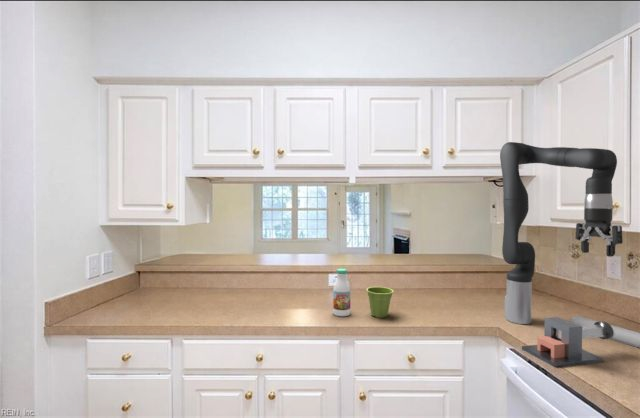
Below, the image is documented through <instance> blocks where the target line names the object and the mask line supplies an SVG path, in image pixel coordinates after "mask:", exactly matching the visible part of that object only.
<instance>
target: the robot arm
mask: <svg viewBox="0 0 640 418" xmlns="http://www.w3.org/2000/svg"><path fill="white" fill-rule="evenodd" d="M499 158H500V159H499V160H500V168H501V174H502V190H503V191H502V193H503V195H502V196H503V197H502V198H503V199H502V202H503V235H502V236H503V237H502V246H501V248H502V251H501V254H502V258H503V260H504V262H505V263H507V264H509V265H515V267H514V268H512V269H511V270H509V271H507V272H506V295H504V318H505V319H506V320H507V321H508V322H511V323H514V324H519V325H530V324H532V308H533V307H532V305H533V304H532V301H533V300H532V299H533V298H532V296H533V295H532V294H533V293H532V292H533V290H532V289H533V283H532V282H533V276H534V274H535V264H536V250H535V248H534V246H533V244H531V243H530V242H528V241H519V232H520V228H521V226H522V225H523V223H524V221H525V219H527V218H526V217H527V215H528V213H529V194H528V191H527V188H526V187H525V184H524V183H523V181H522V178H521V176H520V167H519V166H520V165H528V164H544V165H550V166H555V167H556V166H557V167H565V168H579V169H589V170H592V173H591V176H590V177H588V178H587V179H586V180H585V194H584V195H585V197H584V200H583V201H584V208H583V209H584V211H583V217H584V218H583V219H584V221H585V223H584V222H578V223H576V224H575V225H576V226H575V238H574V239H575V240H578V241H580V250H581V252H582V253H583V254H584V253H586V254H587V253H589V252H590V242H589V241H590V240H591V239H592V238H595V237H597V238H601V239H602V240H603V241H604V242H605V243H606V249H605V250H606V254H605V255H606V257H609V258H610V257H611V258H612V257H614V256H615V255H616V246H617V245H621V244H623V226H622V225H620V224H619V225H618V224H617V225H615V224H614V225H612V221H613V206H614V205H613V202H614V199H613V179H614V176H615V173H616V169H617V166H618V159H617V155H616V153H615V152H614V151H613V150H611V149H605V148H594V147H593V148H592V147H589V148H586V147H585V148H583V147H582V148H578V147H567V146H566V147H565V146H559V147H555V146H554V147H539V146H534V145H529V144H526V143H522V142H515V141H508V142H506V143H504V144H503V145H502V147H501V149H500V153H499ZM611 232H612V233H611Z"/></svg>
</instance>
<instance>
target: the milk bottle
mask: <svg viewBox="0 0 640 418" xmlns="http://www.w3.org/2000/svg"><path fill="white" fill-rule="evenodd" d="M336 275H337V276H336V279H335V282H334V284H333V288H332V289H333V291H332V313H333V315H334V316H336V317H347V316H350V314H351V285H350V284H349V281H348V277H347V275H348V270H347V268H337V269H336Z"/></svg>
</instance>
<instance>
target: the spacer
mask: <svg viewBox="0 0 640 418" xmlns="http://www.w3.org/2000/svg"><path fill="white" fill-rule="evenodd" d="M536 343H537V344H536V345H537V350H539V351H548V350H551V357H553V358H562V357H565V344H564V343H562V342H559V341H557V340H555V339H553V338H551V337H548V336H545V337H544V336H538V337H537V342H536Z"/></svg>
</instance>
